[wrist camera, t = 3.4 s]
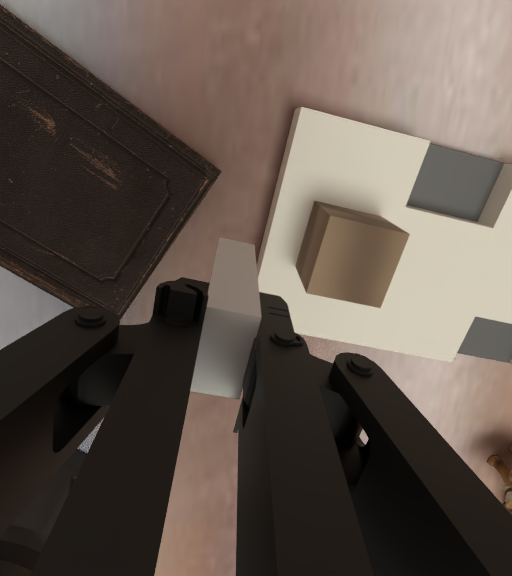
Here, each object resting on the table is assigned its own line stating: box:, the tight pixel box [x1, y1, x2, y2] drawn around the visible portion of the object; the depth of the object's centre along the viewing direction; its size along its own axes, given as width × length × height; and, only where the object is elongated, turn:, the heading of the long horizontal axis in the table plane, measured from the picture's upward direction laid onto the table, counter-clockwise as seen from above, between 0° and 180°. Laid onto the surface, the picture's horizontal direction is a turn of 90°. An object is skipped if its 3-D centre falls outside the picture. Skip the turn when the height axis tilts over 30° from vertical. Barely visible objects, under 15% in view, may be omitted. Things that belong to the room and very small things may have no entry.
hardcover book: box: [0, 5, 221, 321], centre depth 27 cm, size 16×23×2 cm
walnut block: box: [295, 201, 410, 308], centre depth 25 cm, size 5×5×5 cm
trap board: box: [257, 107, 512, 365], centre depth 30 cm, size 32×16×4 cm, turn 77°
